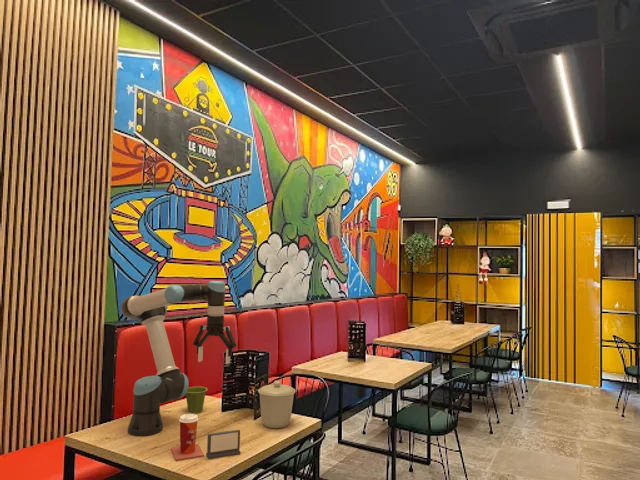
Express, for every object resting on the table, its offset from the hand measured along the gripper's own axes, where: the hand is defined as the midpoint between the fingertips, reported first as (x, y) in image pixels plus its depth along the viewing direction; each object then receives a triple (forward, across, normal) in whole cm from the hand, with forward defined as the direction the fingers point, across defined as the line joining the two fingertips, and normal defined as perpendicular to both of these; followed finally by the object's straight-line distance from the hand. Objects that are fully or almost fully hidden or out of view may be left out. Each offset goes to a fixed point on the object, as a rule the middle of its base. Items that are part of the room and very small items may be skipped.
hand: (213, 362), depth 211 cm
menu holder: (+33, -14, +17) cm, 39 cm away
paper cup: (+32, 0, +20) cm, 38 cm away
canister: (+33, -23, -23) cm, 46 cm away
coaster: (+33, 0, +20) cm, 38 cm away
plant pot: (+33, +24, -28) cm, 49 cm away
